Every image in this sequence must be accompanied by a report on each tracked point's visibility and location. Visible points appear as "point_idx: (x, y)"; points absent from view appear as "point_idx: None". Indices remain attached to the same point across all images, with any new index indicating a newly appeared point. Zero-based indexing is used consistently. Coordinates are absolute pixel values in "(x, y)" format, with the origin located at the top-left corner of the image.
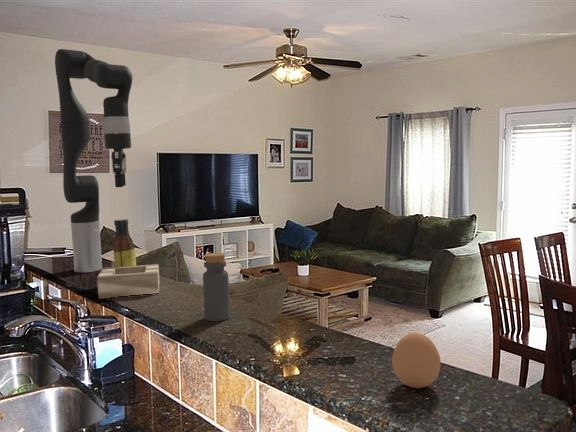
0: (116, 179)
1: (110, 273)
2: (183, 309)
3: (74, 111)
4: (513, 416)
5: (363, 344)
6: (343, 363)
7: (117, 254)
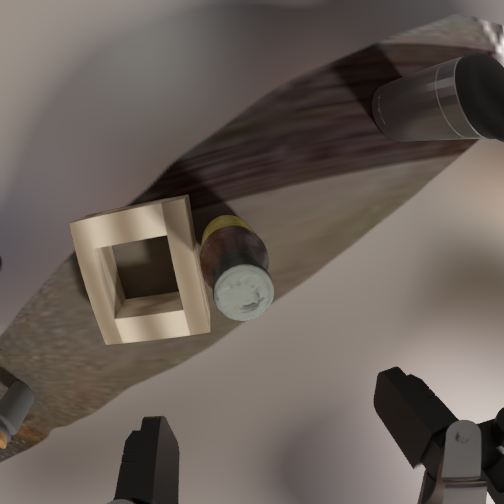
0: (120, 469)
1: (105, 242)
2: (41, 361)
3: None
4: None
5: (10, 450)
6: None
7: (203, 241)
